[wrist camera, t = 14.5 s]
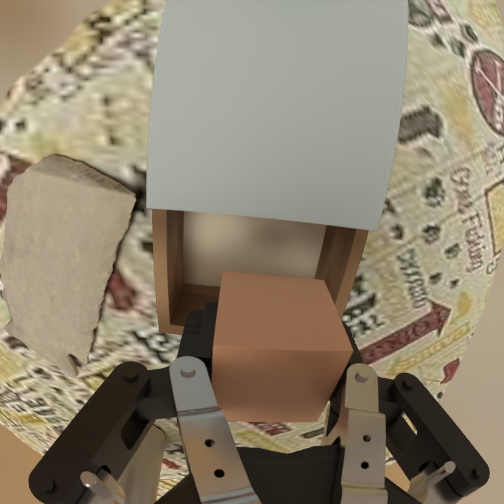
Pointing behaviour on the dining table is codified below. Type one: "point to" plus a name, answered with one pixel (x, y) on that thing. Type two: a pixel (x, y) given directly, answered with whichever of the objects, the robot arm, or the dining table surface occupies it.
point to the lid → (277, 108)
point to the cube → (276, 348)
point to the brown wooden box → (244, 257)
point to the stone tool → (61, 255)
